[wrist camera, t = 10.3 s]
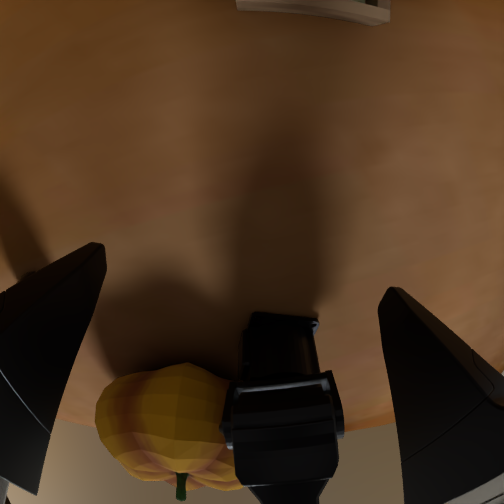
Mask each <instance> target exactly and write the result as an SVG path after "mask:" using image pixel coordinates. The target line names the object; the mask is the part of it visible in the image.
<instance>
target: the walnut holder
mask: <svg viewBox="0 0 504 504" xmlns="http://www.w3.org/2000/svg"><path fill="white" fill-rule="evenodd" d="M236 5H237V10H246V11H272V12H285V13H296V14H305V15H313V16H320V17H327V18H333V19H339V20H345V21H350V22H355V23H360V24H364V25H368V26H376V25H380V24H384V23H388V22H390V0H236Z"/></svg>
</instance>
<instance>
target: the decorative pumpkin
mask: <svg viewBox="0 0 504 504" xmlns="http://www.w3.org/2000/svg"><path fill="white" fill-rule="evenodd" d="M230 381H231V380H227V379H223V378H219V377H218V376H216V375H214V374H212V373H210V372H209V371H207V370H205V369H203V368H200V367H198V366H196V365H193V364H191V363H188V362H187V363H182V364H176V365H171V366H168V367H165V368H162V369H159V370H155V371H141V372H137V373H133V374H129V375H126V376H122V377H119V378H117V379H116V380H114V381H113V382H112V383H111V384H109V385H108V386H107V387H106V388H105V389H104V390H103V392H102V394H101V396H100V398H99V400H98V401H97V403H96V413H95V424H96V427H97V430H98V434H99V437H100V440H101V441H102V443H103V444H104V445H105V447H106V448H107V449H108V450H109V452H110V453H111V454H112V456H113V457H114V458H116V459H117V460H118V461H119V462H120V463H121V465H122V466H123V467H124V468H125V469H126V470H127V472H128V473H129V474H130V475H131V476H134V477H136V478H138V479H140V480H143V481H162V480H164V481H166V482H168V483H169V484H171V485H173V486H175V487H177V488H176V499H177V500H180V501H185V500H186V491H188V490H194V489H197V488H200V487H204V486H209V487H212V488H216V489H220V490H223V491H228V490H236V489H241V488H243V487H244V486H242V485H241V483H240V482H239V480H238V479H237V477H236V475H235V466H234V456H233V450H229V449H228V447H227V445H226V442H225V438H224V436H223V435H222V434H221V433H220V432H219V424H220V422H221V419H222V415H223V410H224V404H225V398H226V393H227V389H229V383H230Z"/></svg>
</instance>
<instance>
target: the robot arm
mask: <svg viewBox="0 0 504 504" xmlns="http://www.w3.org/2000/svg"><path fill="white" fill-rule="evenodd" d="M106 271H107V263H106V253H105V247H104V245H103V244H101V243H95V242H91V243H88V244H87V245H85V246H83V247H81V248H79V249H77V250H75V251H73V252H71V253H70V254H68V255H66V256H64V257H62V258H60V259H59V260H57V261H55V262H53V263H51V264H49V265H48V266H46V267H44V268H42V269H41V270H39V271H37V272H35V273H34V274H32V275H30V276H28V277H27V278H25V279H23V280H22V281H20V282H18V283H17V284H15V285H13V286H12V287H10V288H8V289H7V290H6V292H5V291H3V292H2V293H0V504H11V503H10V501H9V499H8V497H7V490H8V486H9V482H10V483H12V484H14V485H16V486H17V487H19V488H21V489H23V490H25V491H27V492H30V493H31V494H34V495H37V493H38V488H39V483H40V478H41V473H42V469H43V465H44V460H45V456H46V451H47V448H48V444H49V440H50V436H51V435H50V434H51V432H52V429H53V425H54V421H55V418H56V415H57V411H58V408H59V405H60V402H61V399H62V396H63V393H64V390H65V387H66V384H67V381H68V378H69V375H70V372H71V369H72V367H73V364H74V361H75V358H76V356H77V353H78V351H79V348H80V345H81V343H82V340H83V338H84V335H85V333H86V330H87V328H88V325H89V323H90V321H91V318H92V316H93V313H94V310H95V306H96V303H97V300H98V297H99V293H100V290H101V287H102V284H103V281H104V278H105V275H106ZM255 317H258V318H255ZM378 317H379V325H380V333H381V341H382V349H383V354H384V359H385V364H386V369H387V374H388V379H389V384H390V390H391V395H392V401H393V407H394V413H395V420H396V426H397V433H398V440H399V447H400V456H401V467H402V478H403V490H404V504H445V503H447V502H448V504H504V376H503V375H502V374H500V373H499V372H498V371H497V370H496V369H494V368H493V367H492V366H491V365H490V364H489V363H487V362H486V361H485V360H484V359H483V358H482V357H481V356H480V355H478V354H477V353H476V352H475V351H474V350H473V349H471V347H470V346H469V345H467V344H466V343H465V342H464V341H463V340H462V339H461V338H460V337H458V336H457V335H456V334H455V333H454V332H453V331H452V330H450V329H449V328H448V327H447V326H446V325H445V324H444V323H442V322H441V321H440V320H439V319H438V318H437V317H435V316H434V315H433V314H432V313H431V312H430V311H428V310H427V309H426V308H425V307H424V306H422V305H421V304H420V303H419V302H418V301H416V300H415V299H414V298H413V297H412V296H410V295H409V294H408V293H407V292H405V291H404V290H403V289H402V288H400V287H389V288H388V289H387V291H386V293H385V294H384V296H383V298H382V300H381V301H380V303H379V306H378ZM313 323H315V324H313ZM318 326H319V321H318V320H317V319H315V318H305V317H295V316H286V315H277V314H269V313H261V312H254V313H252V314H251V316H250V320H249V324H248V327H247V329H245V330H243V331H242V335H241V339H240V343H239V353H238V378H239V380H244V381H243V382H236V381H230V383H229V389H227V393H226V398H225V404H224V410H223V415H222V419H221V422H220V424H219V432H220V433H221V434H222V435H223V436H224V438H225V442H226V445H227V447H228V449H229V450H233V456H234V466H235V475H236V477H237V479H238V480H239V482H240V483H241V485H242V486H247V487H248V488H249V489H250V491H251V492H252V493H253V494H254V495H255V497H256V498H257V499H258V500H259V501H260V503H261V504H319V496H320V494H321V493H322V491H323V489H324V488H325V486H326V484H327V482H328V480H329V479H330V478H332V477H333V475H334V473H335V471H336V468H337V466H338V461H339V454H338V442H337V439H341V438H343V437H344V416H343V409H342V404H341V400H340V397H339V393H338V390H337V387H336V383H335V380H334V377H333V373H332V370H328V371H325V372H322V373H320V367H319V362H318V357H317V351H316V346H315V341H314V334H315V332H316V330H317V328H318Z"/></svg>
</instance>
